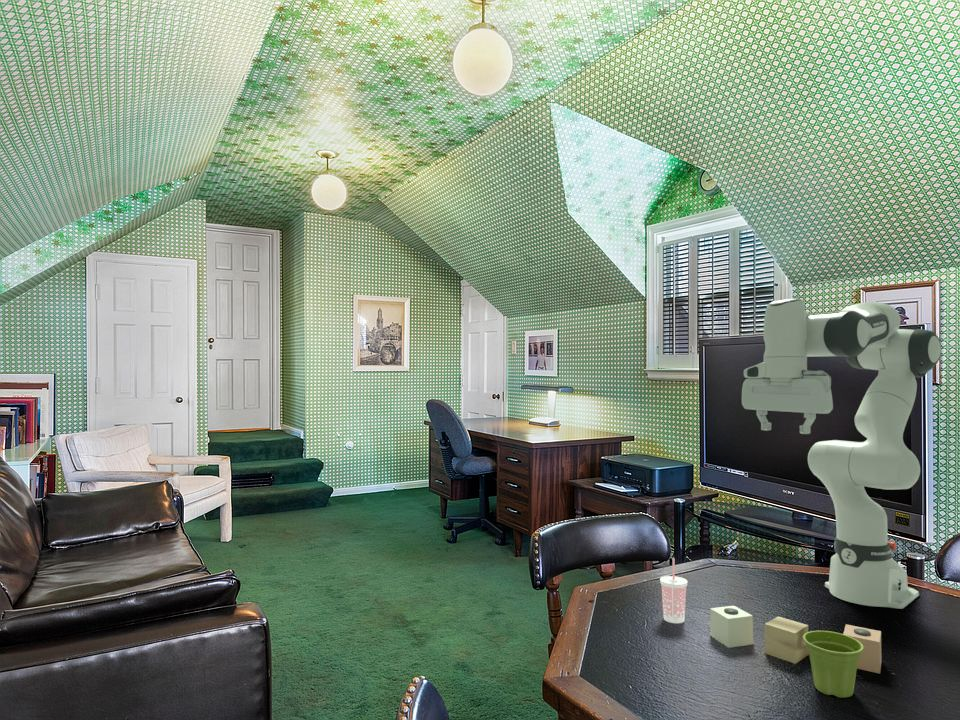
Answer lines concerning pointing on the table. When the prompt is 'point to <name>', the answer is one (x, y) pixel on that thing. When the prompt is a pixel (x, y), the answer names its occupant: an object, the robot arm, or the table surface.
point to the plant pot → (833, 661)
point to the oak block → (786, 639)
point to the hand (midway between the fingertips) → (785, 432)
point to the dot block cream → (731, 626)
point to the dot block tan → (867, 647)
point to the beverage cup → (673, 597)
